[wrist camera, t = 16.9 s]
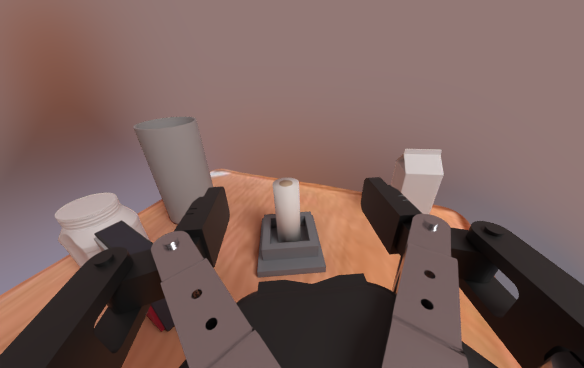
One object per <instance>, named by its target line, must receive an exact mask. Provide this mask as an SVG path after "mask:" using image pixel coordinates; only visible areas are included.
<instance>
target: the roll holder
mask: <svg viewBox="0 0 584 368" xmlns="http://www.w3.org/2000/svg"><path fill="white" fill-rule="evenodd" d="M300 230H301V241H299V242H286V243H279V241H278V232H277V222H276V214H269V215H264V218H262V226H261V236H260V247H259V258H258V269H257V274H258V277H269V276H281V275H293V274H306V273H318V272H326V265H325V261H324V257H323V253H322V249H321V245H320V242H319V238H318V234H317V230H316V226H315V222H314V218H313V215H311V212H300Z"/></svg>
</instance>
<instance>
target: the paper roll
mask: <svg viewBox="0 0 584 368" xmlns="http://www.w3.org/2000/svg"><path fill="white" fill-rule="evenodd" d="M273 192H274V202H275V212H276V222H277V232H278V241H279V243H286V242H299V241H301V230H300V198H299V181H298V180H296V179H294V178H280V179H277V180H276V181H274V182H273Z"/></svg>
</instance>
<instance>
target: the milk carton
mask: <svg viewBox="0 0 584 368" xmlns="http://www.w3.org/2000/svg"><path fill="white" fill-rule="evenodd" d="M441 151H442V150H435V149H405V150H404V154H403V155H402V156H401V157H400V158H398V159H397V160H396V164H395V169H394V173H393V177H392V182H391V186H392V187H394V188H396V189H398V190H399V191H400V192H401V193H402V194H403V196H405V197H406V198H407V199H408V200H409V201H410V202H411V203H412V204H413V205H414V206H415V207H416V208H417V209H418V210H419V211H420V212H422V213H423V214H429V213H430V211H431V208H432V205H433V202H434V200H435V197H436V194H437V191H438V188H439V186H440V183H441V180H442V177H443V168H442V162H441V156H440V154H441Z"/></svg>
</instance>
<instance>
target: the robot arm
mask: <svg viewBox="0 0 584 368" xmlns="http://www.w3.org/2000/svg"><path fill="white" fill-rule="evenodd" d="M361 208H362V211H363V213H364V214H365V216H366V217H367V219H368V221H369V222H370V224H371V226H372V227H373V229H374V230H375V232H376V234H377V235H378V237H379V239H380V240H381V242H382V243H383V245H384V247H385V248H386V250H387V251H388V253H389V254H400V256H401V257H400V260H399V264H398V268H397V272H396V276H395V280H394V284H393V288H392V291H391V290H389V289H387V288H385V287H382V286H380V285H377V284H374V283H370V282H367V281H366V279H365V276H364V274H363V273H362V274H350V275H338V276H335V277H332V278H329V279H326V280H323V281H320V282H318V283H314V284H308V283H302V282H295V281H289V280H277V281H265V282H259V284H258V291H256V292H253V293H251V294H249V295H247V296H246V297H244V298H242V299H241V300H239V301H238V302H237V303H236V302H235V301H234V299H233V298H232V296H231V295H230V293H229V292H228V290H227V289H226V287H225V286H224V284H223V282H222V281H221V279H220V278H219V276H218V275H217V273H216V272H215V270H214V269H213V268H214V267H215V264H216V260H217V257H218V254H219V251H220V248H221V244H222V241H223V238H224V235H225V232H226V228H227V225H228V222H229V217H230V213H229V207H228V202H227V198H226V193H225V189H224V187H209V188H208V189H207V191H206V193H205V195H204V196H203V197H199V198H197V199H196V200H195V201H193V202H192V204H191V205H190V207H189V208H188V210H187V211H186V213H185V215H184V216H183V218H182V219H181V221H180V222H179V224H178V226H177V227H176V229H175V230H174V232H170V233H168V234H165V235H163V236H162V237H160V238H159V239H157V240H156V241H155V242H154V244H153V245H152V247H151V249H149V250H145V251H142V252H138V253H135V254H131V255H130V254H129V252H128V251H127V249H126V248H124V247H113V248H109V249H107V250H104V251H102V252H100V253H98V254H96V255H94V256H93V257H91V258H90V259H89V260H88V261H87V262H86V263H85V264H84V265H83V266H82V267H81V268H80V269H79V270H78V271H77V272H76V273H75V274H74V275H73V277H72V278H71V279H70V280H69V281H68V282H67V283H66V284H65V285H64V286H63V287H62V288H61V290H60V291H59V292H58V293H57V294H56V295H55V296H54V297H53V298H52V299H51V300H50V302H49V303H48V304H47V305H46V306H45V307H44V308H43V309H42V310H41V311H40V312H39V313H38V315H37V316H36V317H35V318H34V319H33V320H32V321H31V322H30V323H29V324H28V325H27V327H26V328H25V329H24V330H23V331H22V332H21V333H20V334H19V335H18V336H17V337H16V338H15V340H14V341H13V342H12V343H11V344H10V345H9V346H8V347H7V348H6V349H5V350H4V352H3V353H2V354H1V355H0V368H121V367H122V365H123V363H124V360H125V358H126V356H127V354H128V352H129V350H130V348H131V346H132V344H133V341H134V339H135V337H136V335H137V333H138V331H139V329H140V327H141V325H142V322H143V320H144V318H145V316H146V314H147V312H148V310H149V308H150V306H151V303H153V302H156V301H158V300H161V299H164V298H166V301H167V304H168V307H169V310H170V313H171V316H172V319H173V322H174V325H175V328H176V331H177V333H178V336H179V339H180V342H181V345H182V348H183V351H184V354H185V357H186V360H185V361H184V362H183V363H182V365H181V366H180V367H179V368H498V367H497V366H495V365H494V364H492V363H491V362H490V361H488V360H487V359H486V358H484V357H483V356H481V355H480V354H479V353H477V352H476V351H475V350H473V349H472V348H470V347H469V346H468V345H466V344H465V343H464V342H462V341H461V320H460V299H459V287H460V289H461V290H462V291H463V292H464V294H465V295H466V296H467V298H468V299H469V300H470V301H471V303H472V304H473V305H474V307H475V308H476V309H477V310H478V312H479V313H480V314H481V316H482V317H483V318H484V319H485V321H486V322H487V323H488V325H489V326H490V327H491V328H492V330H493V331H494V332H495V333H496V335H497V336H498V337H499V339H500V340H501V341H502V342H503V344H504V345H505V346H506V348H507V349H508V350H509V351H510V353H511V354H512V355H513V357H514V358H515V359H516V360H517V362H518V363H519V364H520V366H521V367H522V368H584V285H582V284H581V283H580V282H578V281H577V280H576V279H574V278H573V277H572V276H570V275H569V274H567V273H566V272H565V271H564V270H562V269H561V268H559V267H558V266H557V265H555V264H554V263H553V262H551V261H550V260H548V259H547V258H546V257H544V256H543V255H542V254H540V253H539V252H538V251H536V250H535V249H533V248H532V247H531V246H529V245H528V244H527V243H525V242H524V241H523V240H521V239H520V238H519V237H517V236H516V235H514V234H513V233H512V232H510V231H509V230H507V229H505V228H504V227H501V226H499V225H497V224H494V223H490V222H485V221H477V222H474V223H472V224H471V226H470V228H469V230H464V229H456V228H450V226H449V225H448V223H447V222H445V221H444V220H442V219H441V218H439V217H436V216H433V215H429V214H423V213H422V212H420V211H419V210H418V209H417V208H416V207H415V206H414V205H413V204H412V203H411V202H410V201H409V200H408V199H407V198H406V197H405V196H403V194H402V193H401V192H400V191H399V190H398V189H396V188H394V187H392V186H390V185H387V184H386V183H385V182H384V181H383V180H382V179H381V178H379V177H375V178H366V179H365V180H364V186H363V192H362V198H361ZM498 269H499V270H500V271H501V272H502V273H504V274H505V275H506V276H507V277H508V278H509V279H510V280H511V281H512V282H513V283H514V284H515V286H516V287H517V289H518V292H519V298H518V299H517V300H516V299H515V298H514V297H513V296H512V295H511V294H510V293H509V292H508V291H507V290H506V289H505V288H504V286H502V284H501V283H500V282H499V281H498V280H497V279H496V278H495V277H494V275H495V274H496V272H497V271H498ZM106 304H107V305H108V308H107V309H106V311H105V313H104V314H103V316H102V317H101V319H100V320H99V322H98V323H97V325H96V326H95V328H94V325H95V322H96V320H97V318H98V316H99V315H100V313H101V312H102V310H103V309H104V307H105V306H106Z"/></svg>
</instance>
